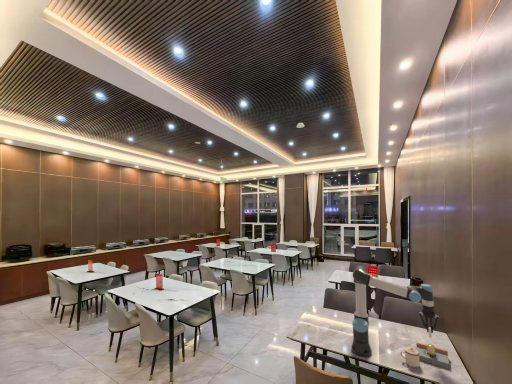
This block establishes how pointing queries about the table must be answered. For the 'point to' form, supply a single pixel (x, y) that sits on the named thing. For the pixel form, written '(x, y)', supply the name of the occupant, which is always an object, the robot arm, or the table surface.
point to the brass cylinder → (431, 350)
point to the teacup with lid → (411, 357)
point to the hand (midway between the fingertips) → (430, 336)
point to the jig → (439, 358)
